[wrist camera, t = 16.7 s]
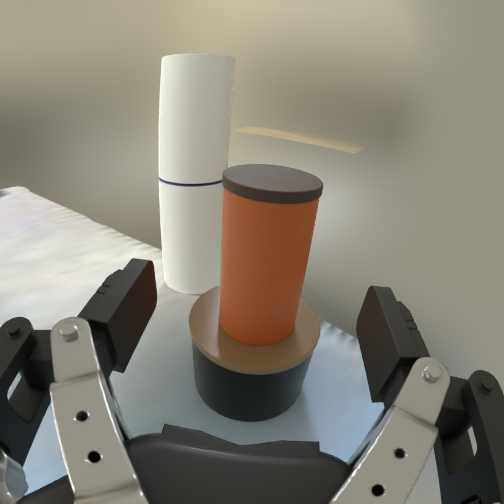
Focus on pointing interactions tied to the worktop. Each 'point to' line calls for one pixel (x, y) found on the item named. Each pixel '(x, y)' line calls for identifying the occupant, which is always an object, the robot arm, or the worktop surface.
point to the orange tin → (264, 249)
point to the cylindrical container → (193, 166)
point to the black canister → (249, 363)
